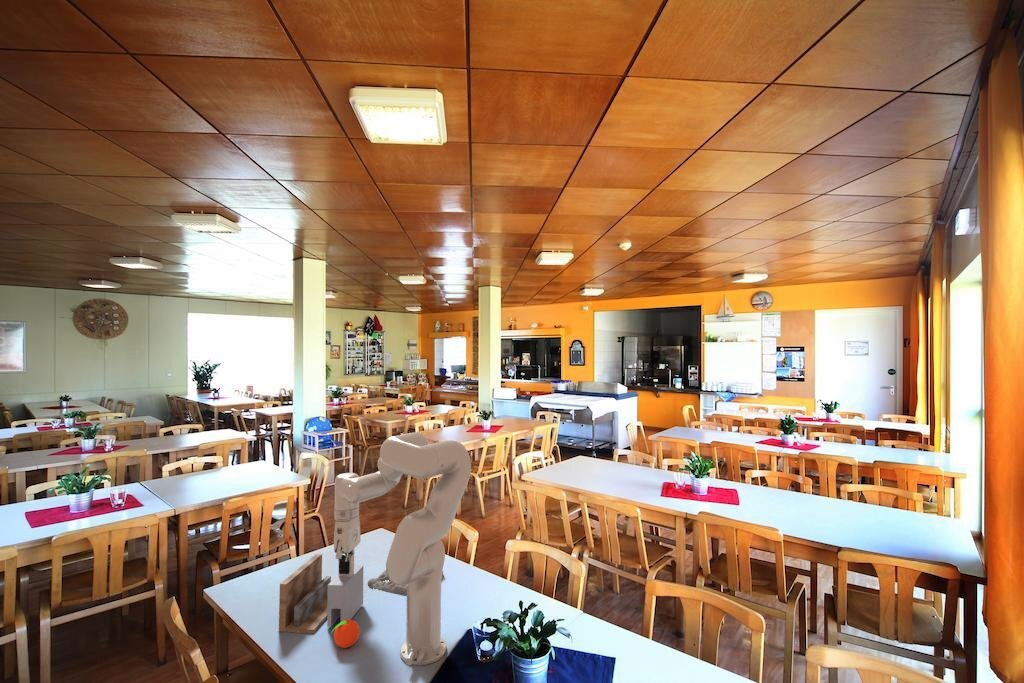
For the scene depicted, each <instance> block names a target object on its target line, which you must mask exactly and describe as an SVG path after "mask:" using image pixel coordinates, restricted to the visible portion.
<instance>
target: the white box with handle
mask: <svg viewBox="0 0 1024 683" xmlns="http://www.w3.org/2000/svg"><path fill="white" fill-rule="evenodd" d="M342 555H345V554H342ZM348 561H349V574H339V573H338V574H337V575H336V576H335V577H334V578H332V580H331V582H330V583H329V584H328V600H327V619H326V621H327V622H326V627H327V628H331V627H332V626H333V625H334V624H335V623H336V621H337V620H338V619H339V618H340V623H341V622H342V621H344V620H347V619H350V620H352V618H353V617H354V616H355V615H356V614H357V613H358V611H359V609H360V608H361V607H362V606H363V604H364V565H362V564H361V565H357V564H355V553H354V554H348Z"/></svg>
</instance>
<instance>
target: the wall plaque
mask: <svg viewBox="0 0 1024 683" xmlns="http://www.w3.org/2000/svg"><path fill="white" fill-rule="evenodd" d="M444 577H445V575H444V571H442V579H444ZM385 580H386V581H385ZM388 580H389V578H388V575H387V571H386V569H385V570H384V571H383V572H382V573H381V574H380V575H379V576H378V577H376V578H370V579H369V580H368V581H367V585H368V586H369V587H368V586H367V587H368V588H371V589H373V588H374V589H373V590H376V589H378V590H377V591H380V590H382V591H383V592H387V593H389V594H390V593H391V594H396V595H397V594H398V595H403V596H407V587H408V584H407V585H404V586H398V585H395V584H393V583H392V582H391V581H390V580H389V582H388ZM383 581H384V582H383ZM382 591H381V592H382Z"/></svg>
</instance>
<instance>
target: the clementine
mask: <svg viewBox="0 0 1024 683" xmlns="http://www.w3.org/2000/svg"><path fill="white" fill-rule="evenodd" d="M332 633H333V638H334V642H335V645H337V646H338V647H340V648H342V649H345V648H346V649H347V648H350V647H351V646H353V645H354V644H355V643H356V642H357V641H358V639H359V636H360V627H359V623H357V622H356V621H355V620H353V619H351V620H350V619H347V620H344V621H342V622H341V621H340V622H339V623H338V624H336V625H335V626H334V627H333V629H332V631H331V633H330V635H332Z"/></svg>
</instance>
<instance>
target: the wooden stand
mask: <svg viewBox="0 0 1024 683" xmlns="http://www.w3.org/2000/svg"><path fill="white" fill-rule="evenodd" d="M331 579H332V576H331V575H325V577H324V578H323V553H316V554H314V555H313V556H312V557H311V558H310V559H308V560H307V561H306V562H305V563H303V564H302V565H301V566H300V567H299V568H297V569H296V570H295V571H293V572H292V573H291V574H289V576H288V577H287V578H285V579H284V580H283V581H282V582H280V583H279V601H278V602H279V603H278V604H279V605H278V607H279V608H278V609H279V610H278V632H283V633H284V632H288V633H299V634H300V633H302V634H315V632H316V631H317V630H318V629H319V628H320V626H321V625H323V623H324V622H325V621H327V600H328V584H329V583H330V582H331V581H332V580H331Z"/></svg>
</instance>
